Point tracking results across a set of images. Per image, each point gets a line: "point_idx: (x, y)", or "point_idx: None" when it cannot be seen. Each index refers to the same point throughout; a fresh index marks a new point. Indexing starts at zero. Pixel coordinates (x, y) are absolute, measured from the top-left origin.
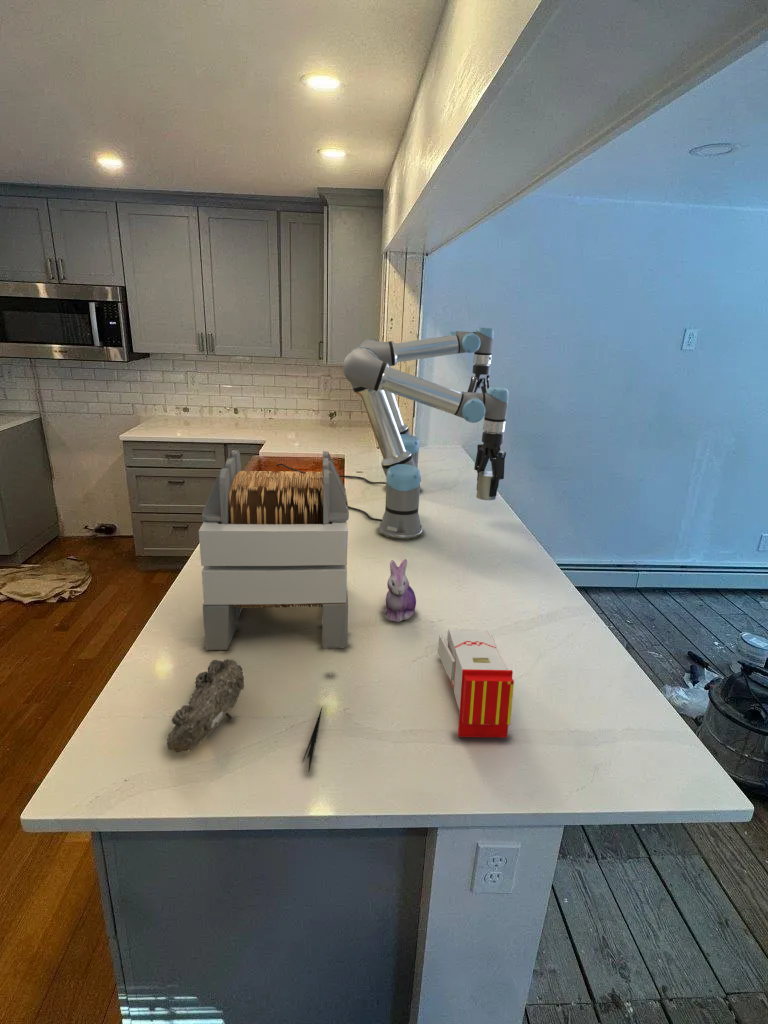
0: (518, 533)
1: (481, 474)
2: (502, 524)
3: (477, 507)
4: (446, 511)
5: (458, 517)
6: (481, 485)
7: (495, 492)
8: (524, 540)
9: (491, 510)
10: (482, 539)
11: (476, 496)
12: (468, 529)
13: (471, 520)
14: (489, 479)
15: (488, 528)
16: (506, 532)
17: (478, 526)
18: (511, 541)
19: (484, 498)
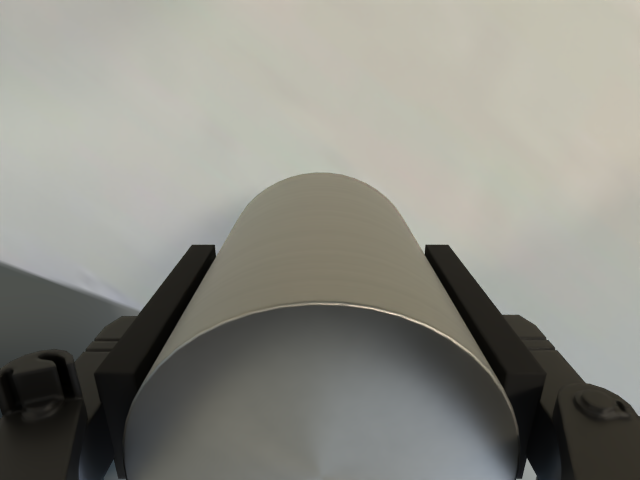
0: (118, 283)
1: (321, 316)
2: None
3: (548, 323)
4: (608, 96)
5: (474, 106)
6: (281, 222)
7: None
8: (16, 248)
9: None
10: (73, 9)
11: (368, 185)
12: (260, 31)
13: (390, 156)
14: (161, 352)
15: (234, 173)
16: (147, 232)
17: (284, 134)
18: (12, 171)
19: (250, 203)
